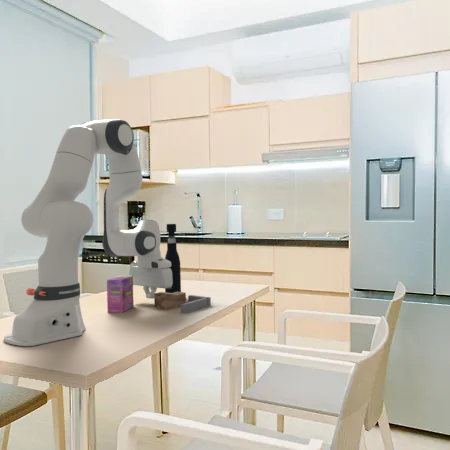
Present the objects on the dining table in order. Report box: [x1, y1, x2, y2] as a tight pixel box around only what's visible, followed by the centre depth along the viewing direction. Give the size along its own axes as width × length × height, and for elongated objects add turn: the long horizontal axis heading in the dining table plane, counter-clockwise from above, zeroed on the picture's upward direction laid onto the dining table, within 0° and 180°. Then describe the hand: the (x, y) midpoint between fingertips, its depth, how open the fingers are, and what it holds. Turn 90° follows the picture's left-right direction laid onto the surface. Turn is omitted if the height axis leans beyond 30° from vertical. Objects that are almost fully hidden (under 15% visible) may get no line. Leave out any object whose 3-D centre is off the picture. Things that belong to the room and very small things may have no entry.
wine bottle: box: [164, 223, 182, 293], centre depth 183 cm, size 6×6×30 cm
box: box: [106, 274, 135, 314], centre depth 163 cm, size 10×6×12 cm, turn 168°
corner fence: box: [180, 294, 212, 314], centre depth 163 cm, size 15×10×3 cm, turn 145°
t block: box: [153, 291, 187, 311], centre depth 168 cm, size 9×11×4 cm
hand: (150, 298), depth 173 cm, fingers closed
